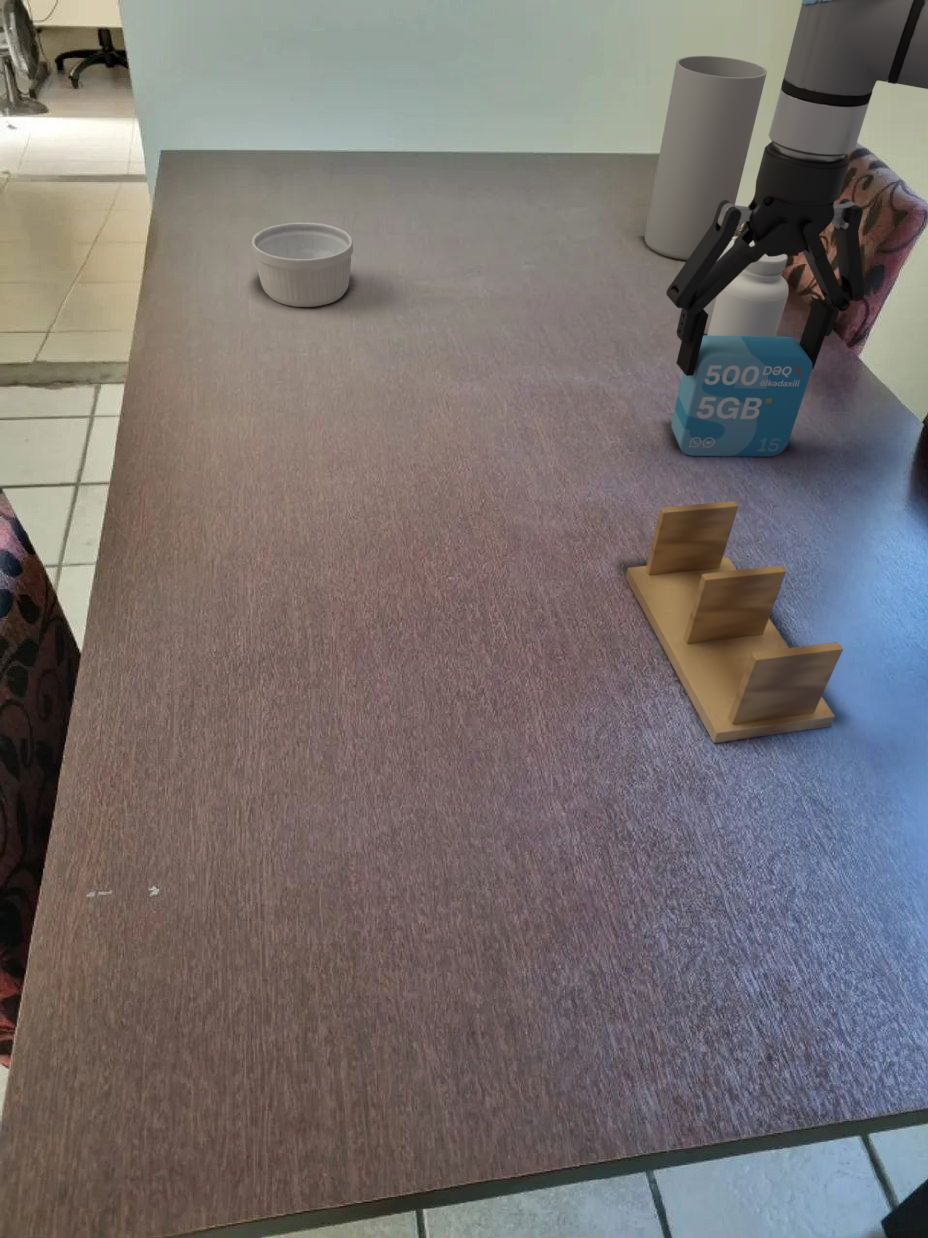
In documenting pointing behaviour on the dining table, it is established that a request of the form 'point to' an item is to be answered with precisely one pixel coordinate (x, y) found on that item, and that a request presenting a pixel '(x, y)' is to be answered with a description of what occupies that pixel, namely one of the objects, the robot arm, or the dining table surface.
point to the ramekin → (303, 263)
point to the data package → (741, 396)
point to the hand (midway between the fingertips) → (745, 366)
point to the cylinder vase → (702, 149)
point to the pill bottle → (752, 300)
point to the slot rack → (728, 630)
